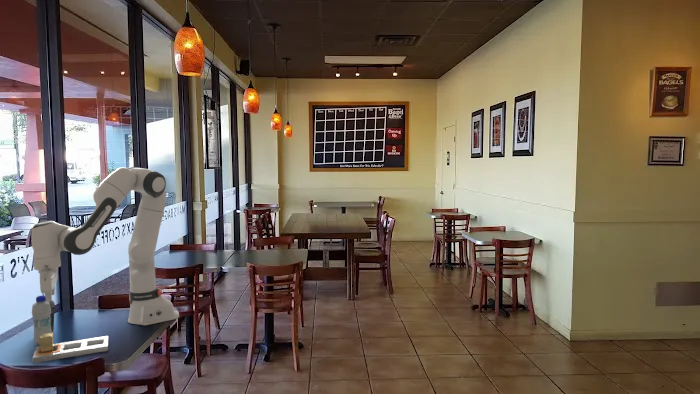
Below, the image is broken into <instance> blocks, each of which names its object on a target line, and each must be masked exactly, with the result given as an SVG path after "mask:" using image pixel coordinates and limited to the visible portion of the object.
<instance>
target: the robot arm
mask: <svg viewBox="0 0 700 394" xmlns="http://www.w3.org/2000/svg"><path fill="white" fill-rule="evenodd" d="M166 181H167V180H166V177H165V176H164V175H163V174H162V173H160V172H158V171H154V170H152V169H148V168H142V167H137V166H130V167H123V166H121V167H118V168H116V169H115V170H114V171H112V172H111V173H110V174H109V175H108V176H107V177H106V178H104V179H103V180H102V182H101V183H100V184H99V185H97V187H96V189H95V191H94V192H93V201H94V203H95V209H94V211H93V212H92V213H91V214H90V216H88V218H87V220H86V221H85V222H84V223H83V224H82V225H81V226H79V227H73V226H68V225H65V224H60V223H58V222H55V221H54V220H46V221H41V222H38V223H36V224H34V225H33V226H32V229H31V240H30V241H31V248H32V250H33V255H32V259H33V261H32V262H33V269H34V270H35V271H38V274H39V286H40V287H39V289H40V293H41V294H42V293H44V296H45V297H46V302H51V301H52V300H53V296H54V295H55V293H56V291H55V290H56V287H55V286H56V283H57V281H58V277H59V276H58V274H59V268H60V267H61V266H62V261H61V252H65V251H66V252H69V253H71V254H73V255H75V256H81V255H85V254H88V253H89V252H90V251H92V249H93V247H94V245H95V243H96V239H97V237H98V235H99V233H100V232H101V231H102V230H103V228H104V227H105V225H106V224H107V223H108V221H109V220H110V218H111V217H112V216H113V214H114V213H115V211H116V210H117V208H118V206H119V205H121V203H122V202H123V201H124V200H125V198H126V197H128V195H129V193H130V192H131V191H134V192H136V193H140V195H141V199H140V203H139V205H138V209H137V213H136V218H135V221H134V225H133V229H132V235H131V238H130V241H129V244H128V250H127V251H128V252H127V254H128V269H129V293H128V296H129V299H128V300H129V305H130V307H129V313H128V319H127V322H128V323H129V324H132V325H133V324H134V325H141V326H149V325H153V324H154V325H155V324H157V323H164V322H167V321H169V322H170V321H173V320H177V319H179V317H180V312H179V311H178V310H177V309H176V308H175V307H174V304H173V302H171V300H170V299H167V297H164V296H163V292H162V290H161V289H160V288H157V287H156V286H157V285H156V267H155V266H156V265H155V264H156V263H155V253H156V248H157V244H158V239H159V234H160V228H161V225H162V221H163V216H164V214H165V213H164V211H165V208H166V201H167V192H166V188H167V187H166V186H167V182H166Z"/></svg>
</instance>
